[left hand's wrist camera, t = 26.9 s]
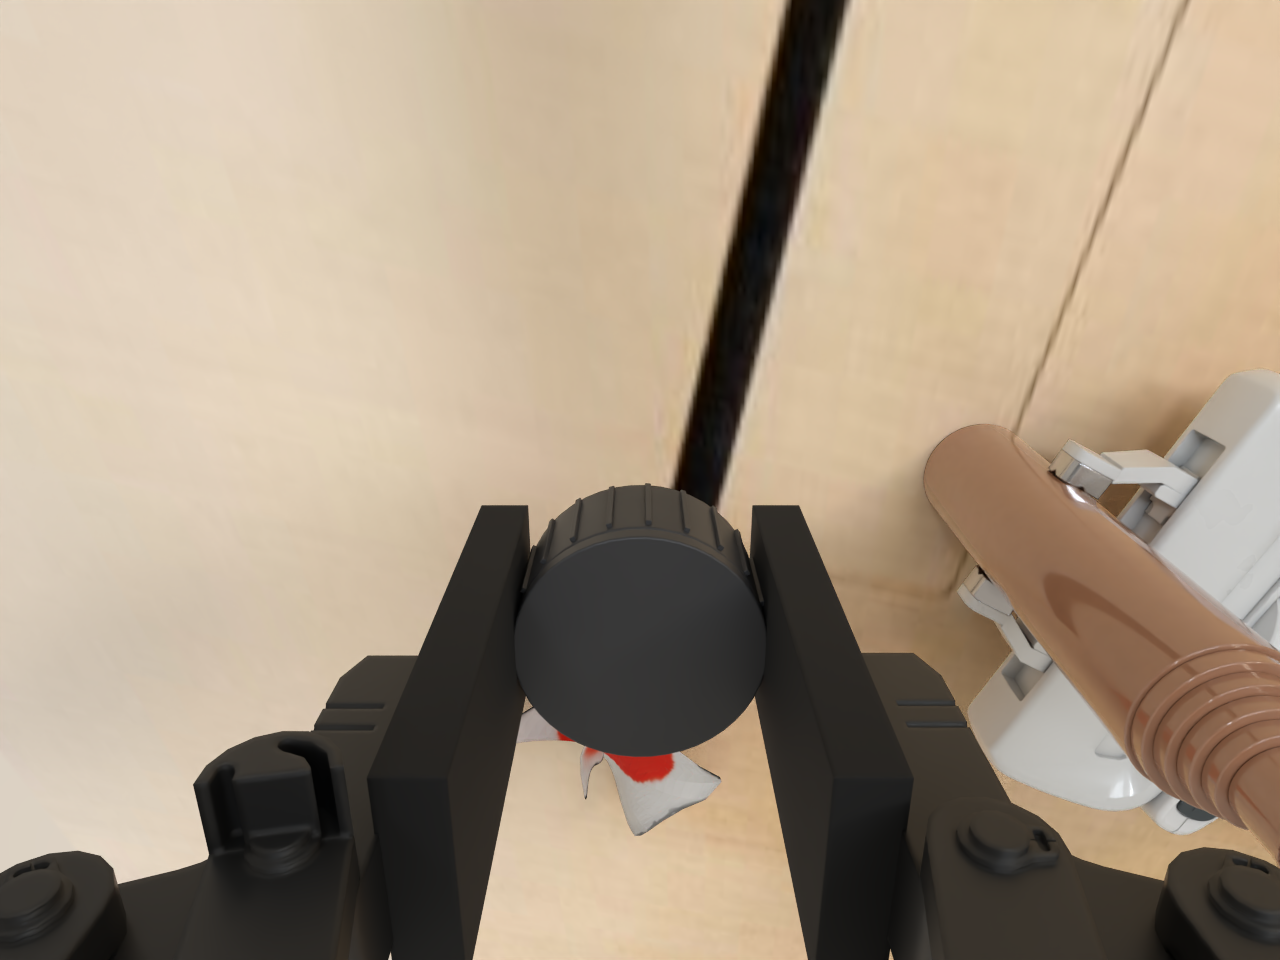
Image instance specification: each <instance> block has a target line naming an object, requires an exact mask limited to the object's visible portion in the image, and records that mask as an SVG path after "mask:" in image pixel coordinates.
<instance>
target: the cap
mask: <svg viewBox="0 0 1280 960" xmlns="http://www.w3.org/2000/svg"><path fill="white" fill-rule="evenodd" d="M520 592H522V593H523V594H522V598H521V601H520V605H519V610H518V613H517V617H516V621H515V626H514V644H515V661H516V674H517V678H518V680H519V682H520V685H521V687H522V690H523V691H524V693H525V695H526V697H527V698H528V700H529V702H530V703H531V704H532V706H533V707H534V708H535V710H536V711H537V712H538V713H539V715H540V716H541V717H542V718H543V719H545V720H546V721H547V722H548V723H549V724H550V725H551V726H552V727H553V728H555V729H556V730H557V731H559V732H560V733H561V734H563V735H565V736H566V737H568V738H570V739H571V740H573V741H575V742H577V743H579V744H582V745H584V746H586V747H588V748H591V749H594V750H598V751H601V752H604V753H609V754H614V755H619V756H630V757H652V756H660V755H667V754H672V753H676V752H680V751H683V750H686V749H689V748H692V747H695V746H697V745H699V744H701V743H703V742H705V741H707V740H709V739H711V738H713V737H714V736H716V735H717V734H719V733H721V732H722V731H724V730H725V729H726V728H727V727H728V726H730V725H731V724H732V723H733V722H734V721H735V720H736V719H737V718H738V717H739V716H740V715H741V714H742V713H743V712H744V711H745V709H746V708H747V707H748V705H749V704H750V702H751V701H752V700H753V698H754V696H755V694H756V692H757V690H758V688H759V687H760V685H761V682H762V679H763V676H764V670H765V655H766V637H767V627H766V623H765V619H764V615H763V611H762V607H761V606H764V599H763V595H762V592H761V588H760V584H759V580H758V576H757V573H756V569H755V565H754V561H753V558H749V557H748V554H747V552H746V549H745V547H744V545H743V543H742V539H741V535H740V532H739V530H738V529H736V530H734V529H733V528H732V527H731V525H730V524H729V523H728V522H727V521H726V520H725V519H724V518H723V517H722V516H721V515H720V514H719V513H718V512H717V508H716V507H714V506H712V507H710V506H708V505H707V504H705V503H704V502H702V501H700V500H698V499H696V498H694V497H692V496H690V495H688V494H686V491H683V490H681V491H680V492H679V491H677V490H673V489H668V488H664V487H658V486H651V484H648V483H645V485H631V486H623V487H616V488H615V487H614V486H611V487H609V489H608V490H604V491H601V492H598V493H596V494H593V495H591V496H588V497H586V498H584V499H582V500H581V498H579V499H577V500H576V503H575V504H574V505H572V506H571V507H569V508H568V509H567V510H566V511H564V512H563V513H562V514H560V515H559V516H558V517H557V518H556V519H555V520H554V519H551V520H550V522H549V525H548V529H547V530H546V531H545V533H544V534H543V535H542V537H541V539H540V541H539V542H538V544H537V546H534V545H533V547H532V549H531V552H530V556H529V560H528V564H527V568H526V571H525V575H524V579H523V583H522V587H521V590H520Z"/></svg>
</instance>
